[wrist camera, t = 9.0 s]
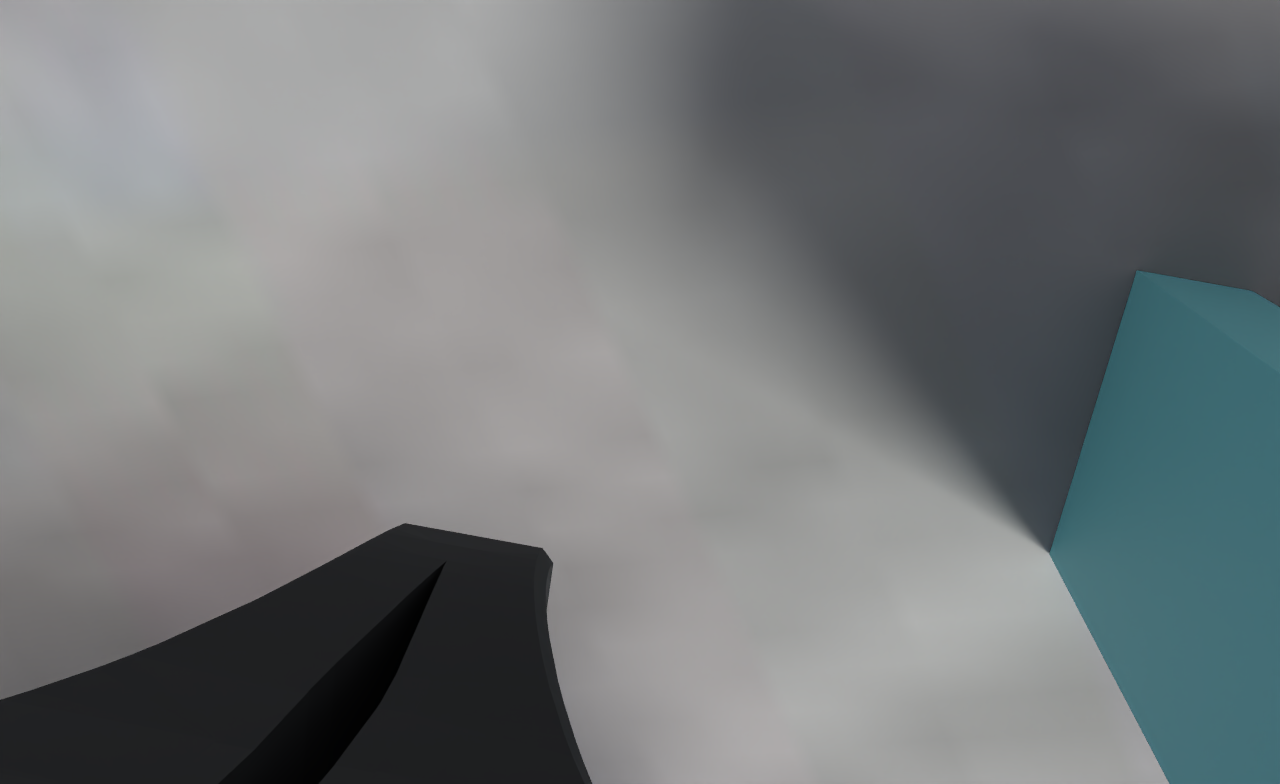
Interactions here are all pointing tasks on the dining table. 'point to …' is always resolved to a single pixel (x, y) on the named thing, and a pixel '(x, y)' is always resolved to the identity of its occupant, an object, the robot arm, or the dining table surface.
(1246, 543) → the teal domino
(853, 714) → the dining table surface
